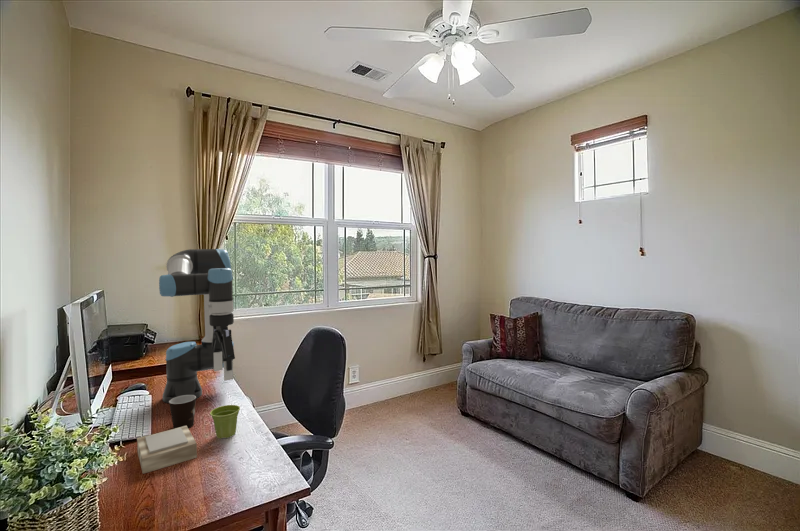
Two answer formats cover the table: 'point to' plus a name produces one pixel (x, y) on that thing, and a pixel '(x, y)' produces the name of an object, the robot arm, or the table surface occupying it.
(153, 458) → the wooden stand
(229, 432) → the plant pot
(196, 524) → the table surface
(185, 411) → the coffee mug
